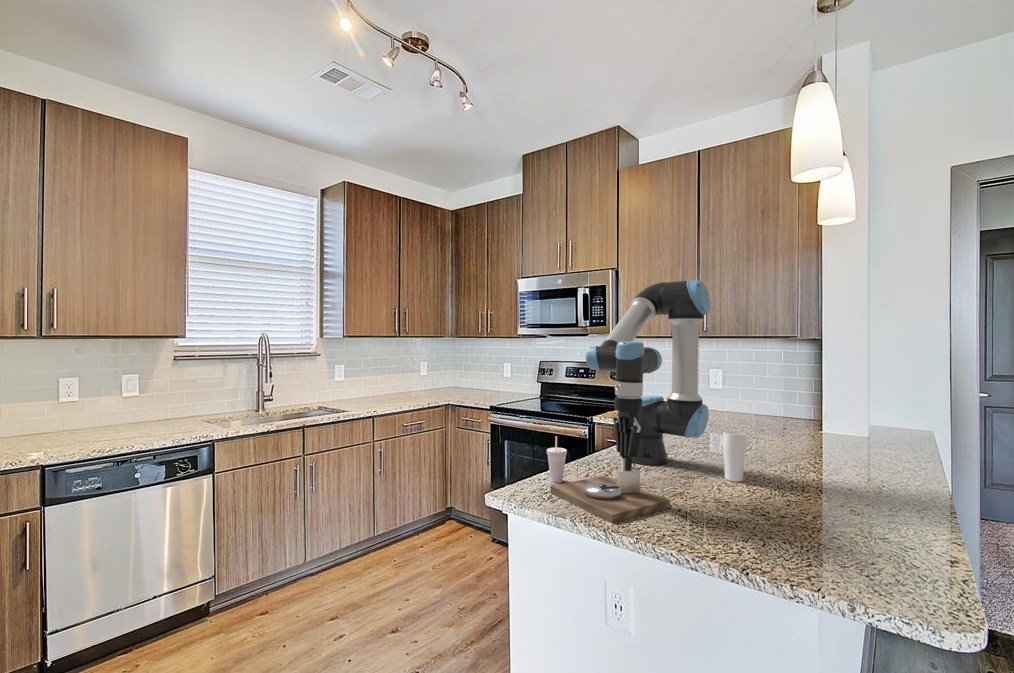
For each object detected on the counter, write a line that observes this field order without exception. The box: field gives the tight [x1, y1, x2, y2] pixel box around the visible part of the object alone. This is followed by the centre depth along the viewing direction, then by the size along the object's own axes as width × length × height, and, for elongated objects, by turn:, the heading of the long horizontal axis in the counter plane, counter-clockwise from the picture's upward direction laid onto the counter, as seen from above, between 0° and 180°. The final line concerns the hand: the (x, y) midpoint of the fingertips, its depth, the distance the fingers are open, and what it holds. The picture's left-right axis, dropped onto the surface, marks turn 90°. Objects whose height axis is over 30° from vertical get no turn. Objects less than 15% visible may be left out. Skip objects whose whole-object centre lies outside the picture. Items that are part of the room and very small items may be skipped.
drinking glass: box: [722, 430, 747, 483], centre depth 153 cm, size 7×7×15 cm
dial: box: [584, 468, 641, 500], centre depth 133 cm, size 16×10×6 cm, turn 101°
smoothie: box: [546, 436, 568, 484], centre depth 150 cm, size 6×6×14 cm
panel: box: [550, 475, 671, 524], centre depth 133 cm, size 21×25×2 cm
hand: (625, 480), depth 135 cm, fingers closed
